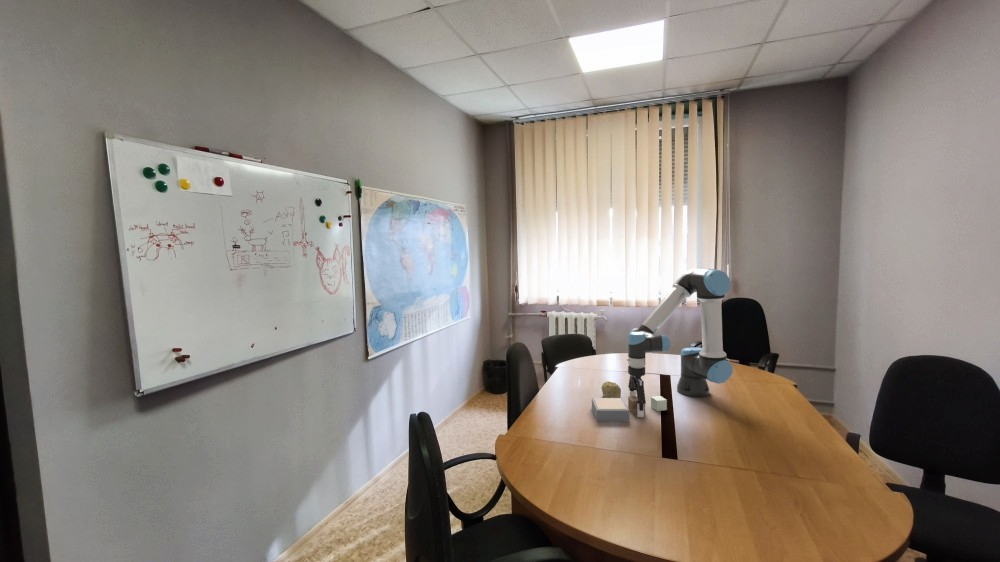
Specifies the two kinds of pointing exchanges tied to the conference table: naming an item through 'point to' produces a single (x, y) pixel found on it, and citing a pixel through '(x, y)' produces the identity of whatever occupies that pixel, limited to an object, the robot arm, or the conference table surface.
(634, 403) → the walnut cube
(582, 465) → the conference table surface
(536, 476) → the conference table surface
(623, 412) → the plinth
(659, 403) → the sage cube
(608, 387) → the decorative item
